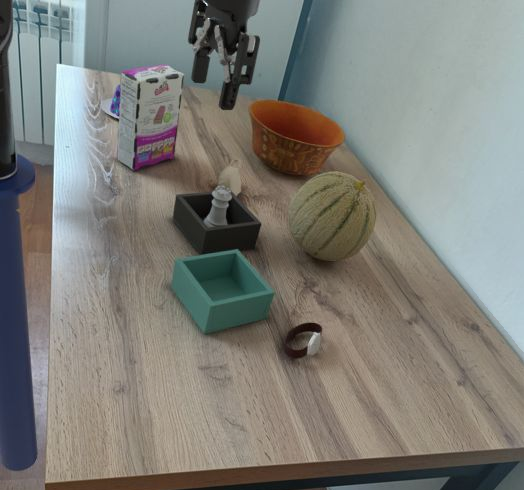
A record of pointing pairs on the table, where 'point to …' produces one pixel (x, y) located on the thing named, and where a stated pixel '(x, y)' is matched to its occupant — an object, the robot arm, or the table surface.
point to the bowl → (292, 136)
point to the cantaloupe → (332, 216)
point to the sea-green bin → (221, 290)
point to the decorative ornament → (231, 178)
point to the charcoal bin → (220, 237)
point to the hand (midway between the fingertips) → (211, 95)
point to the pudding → (112, 104)
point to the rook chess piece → (218, 207)
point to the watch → (312, 344)
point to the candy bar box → (148, 115)
